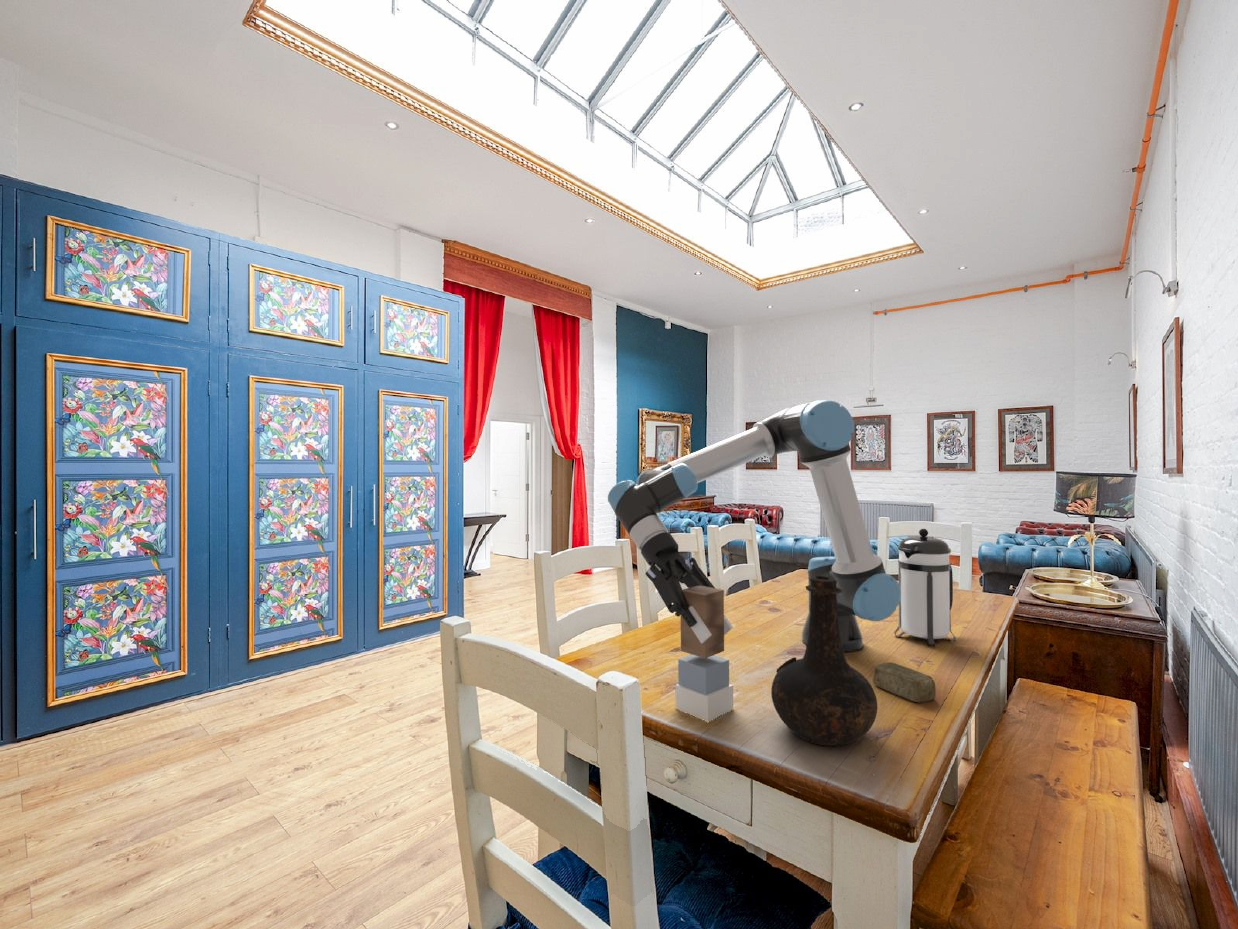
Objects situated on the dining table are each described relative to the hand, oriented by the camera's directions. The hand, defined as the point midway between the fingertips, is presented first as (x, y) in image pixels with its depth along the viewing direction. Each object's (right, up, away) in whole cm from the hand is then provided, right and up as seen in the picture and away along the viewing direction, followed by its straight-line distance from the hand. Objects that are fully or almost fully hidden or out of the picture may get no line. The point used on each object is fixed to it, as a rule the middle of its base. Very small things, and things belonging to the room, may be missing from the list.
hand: (717, 635), depth 108 cm
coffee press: (+66, -15, +47) cm, 82 cm away
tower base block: (-2, -16, +3) cm, 16 cm away
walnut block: (-2, -4, +3) cm, 5 cm away
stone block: (+41, -15, +10) cm, 45 cm away
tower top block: (-2, -11, +3) cm, 11 cm away
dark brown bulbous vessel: (+18, -16, -8) cm, 25 cm away
